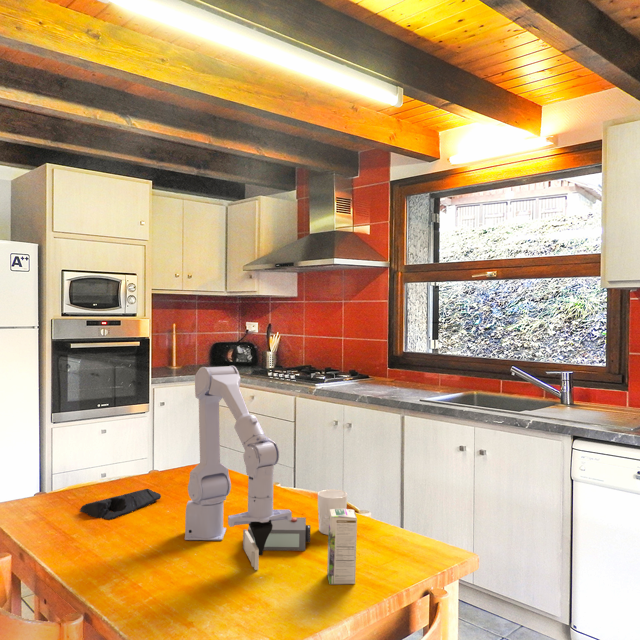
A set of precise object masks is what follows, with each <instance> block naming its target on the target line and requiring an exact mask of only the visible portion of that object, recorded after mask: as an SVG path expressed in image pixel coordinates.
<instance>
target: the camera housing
mask: <svg viewBox="0 0 640 640" xmlns="http://www.w3.org/2000/svg"><path fill="white" fill-rule="evenodd" d="M306 519H307V518H306V517H293V516H292V520H278V521H271V523H272V525H273V527H272V530H271V532H270V534H269V536H268V538H267V540H266V543H265V546H264V550H263V551H298V552H301V551H304V552H305V551H306V543H310V542H311V525H310V524H307V523H306V522H307V521H306ZM247 531H248V532H249V534H250V536H251V537H252V539H253V541H254V542H255V539H254V536H253V533H252V530H251V528H250V526H249V525H248V528H247ZM255 544H256V543H255Z"/></svg>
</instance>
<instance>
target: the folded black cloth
mask: <svg viewBox="0 0 640 640" xmlns="http://www.w3.org/2000/svg"><path fill="white" fill-rule="evenodd" d="M161 497H162V494H161V493H159V492H156V491H153V490H152V489H150V488H144V489H140V490H137V491H133V492H129V493H124V494H121V495H116V496H112V497H109V498H108V497H107V498H104V499H101V500H96V501H93V502H88V503H86V504H84V505H82V506H81V508H80V510H79V513H84V514H87V516H90V517H94V518H96V519H102V520H105V519H106V520H114V519H116V518H119V517H122V515H123V516H125V514H126V515H127V514H131V513H133V512H135V511H137V510H139V509H138V508H140V509H142V508H141V507H143V508H145V507H147V506H150V505H151V503H152V504H153V503H156V502H157V501H158V500H160V499H161ZM149 504H150V505H149ZM136 509H137V510H136ZM132 511H133V512H132ZM130 512H131V513H130ZM118 516H119V517H118Z"/></svg>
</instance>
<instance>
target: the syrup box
mask: <svg viewBox="0 0 640 640" xmlns="http://www.w3.org/2000/svg"><path fill="white" fill-rule="evenodd" d="M357 529H358V518H357V514H356V512H355V509H351V508H350V509H349V508H347V509H330V510H329V535H327V536H328V537H327V541H328V542H327V580H328V585H354V584H356V572H357V571H356V565H357V563H356V562H357V537H358V536H357V533H358V530H357Z"/></svg>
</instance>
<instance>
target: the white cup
mask: <svg viewBox="0 0 640 640" xmlns="http://www.w3.org/2000/svg"><path fill="white" fill-rule="evenodd" d="M347 502H348V493H347V492H346V491H345V490H340V489H329V488H328V489H324V490H323V489H322V490H320V491H318V492H317V512H318V531H319V532H320V533H321V534H323V535H326V536H328V535H329V510H330V509H348V508H347V506H348V503H347Z"/></svg>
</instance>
